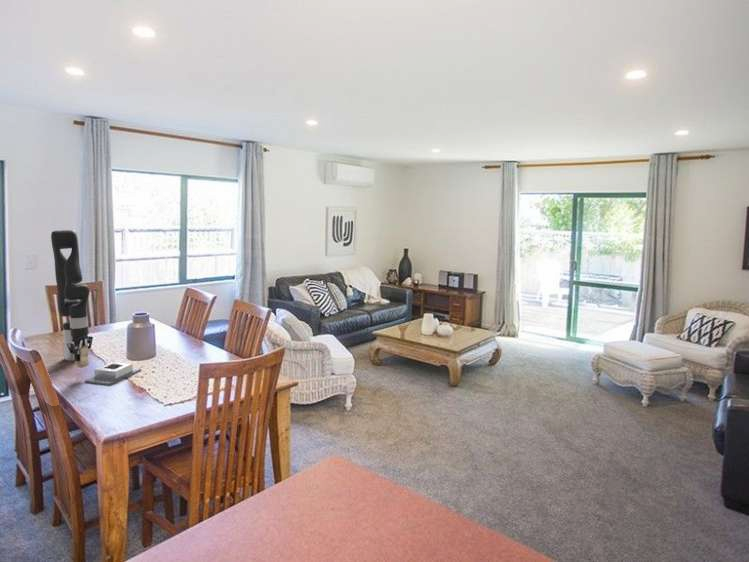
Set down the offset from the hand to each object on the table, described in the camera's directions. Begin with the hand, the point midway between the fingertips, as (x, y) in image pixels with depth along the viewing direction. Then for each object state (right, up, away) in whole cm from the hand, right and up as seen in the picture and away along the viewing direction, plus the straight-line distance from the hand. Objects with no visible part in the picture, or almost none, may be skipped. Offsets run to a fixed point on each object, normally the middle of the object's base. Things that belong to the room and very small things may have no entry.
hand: (81, 359), depth 242 cm
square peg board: (+13, -9, +6) cm, 17 cm away
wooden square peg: (0, -3, +1) cm, 3 cm away
